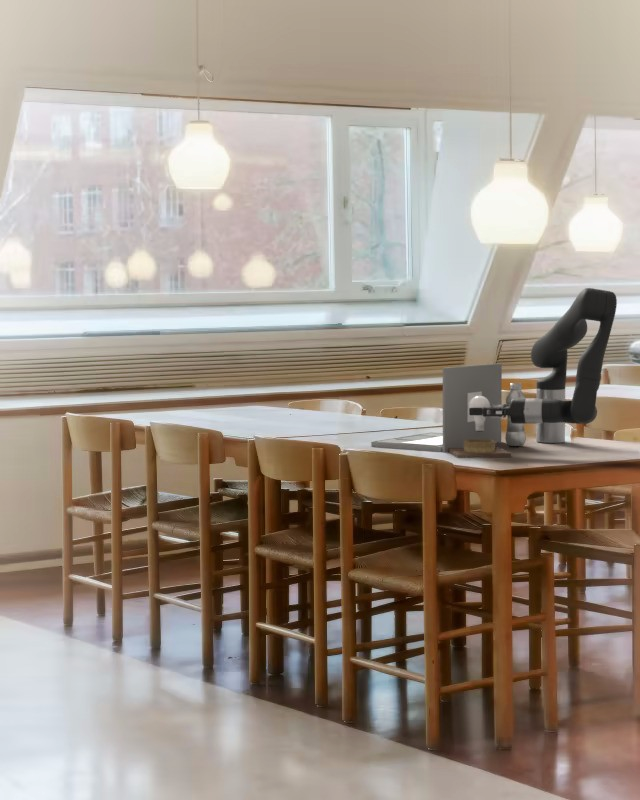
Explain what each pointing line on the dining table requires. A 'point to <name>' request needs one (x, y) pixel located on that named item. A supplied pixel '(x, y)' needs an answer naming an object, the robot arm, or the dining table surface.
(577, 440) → the dining table surface
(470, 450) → the brown board with block
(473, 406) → the lightbulb
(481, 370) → the laptop
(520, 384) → the plastic bottle
